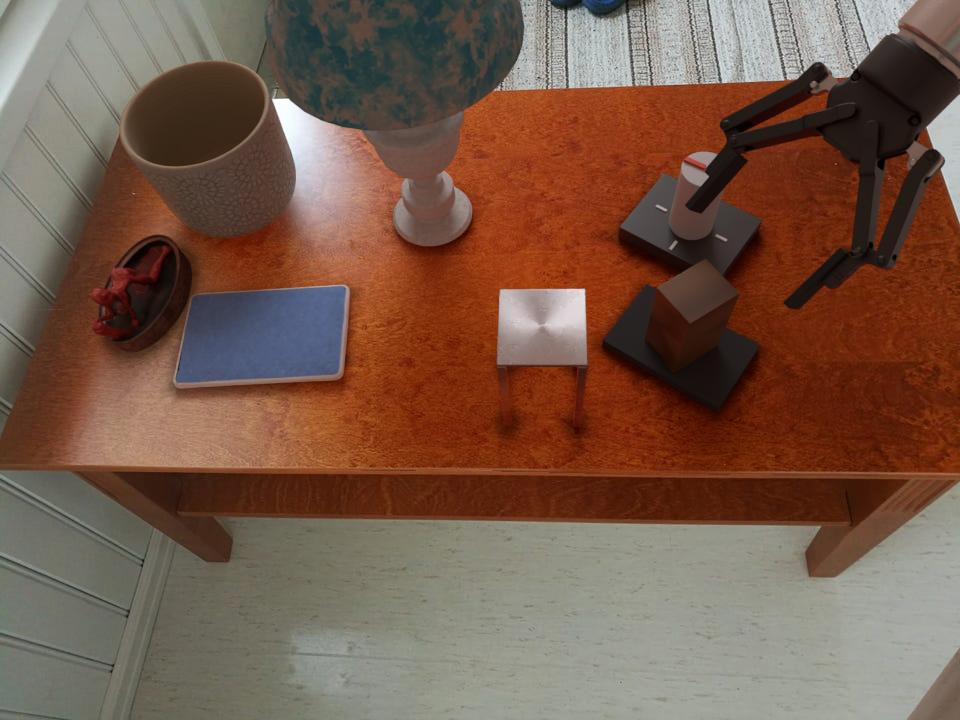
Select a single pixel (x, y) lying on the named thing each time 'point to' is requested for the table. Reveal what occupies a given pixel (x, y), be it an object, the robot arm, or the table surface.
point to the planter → (211, 147)
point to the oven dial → (688, 183)
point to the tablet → (264, 337)
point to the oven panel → (657, 239)
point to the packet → (690, 314)
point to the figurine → (143, 294)
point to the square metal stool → (542, 337)
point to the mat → (697, 379)
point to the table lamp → (399, 85)
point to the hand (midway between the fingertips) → (739, 256)
